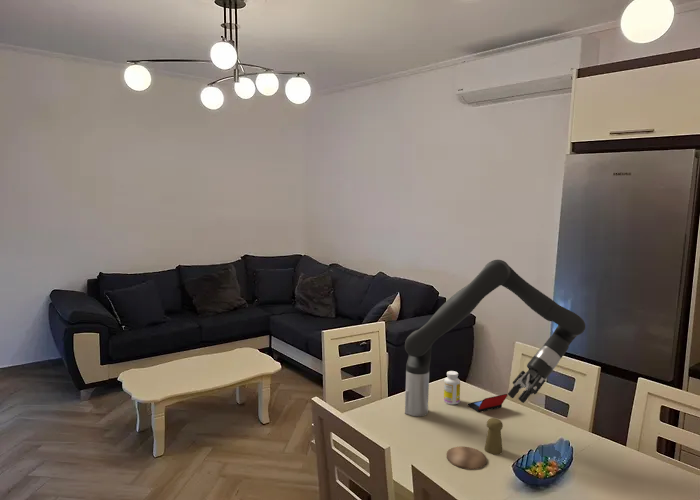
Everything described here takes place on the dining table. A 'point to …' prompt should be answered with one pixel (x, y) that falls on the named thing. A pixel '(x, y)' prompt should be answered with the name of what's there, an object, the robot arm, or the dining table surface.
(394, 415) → the dining table surface
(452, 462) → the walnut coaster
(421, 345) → the robot arm
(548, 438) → the dining table surface
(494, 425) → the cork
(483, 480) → the dining table surface
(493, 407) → the handheld game console
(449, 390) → the supplement bottle
